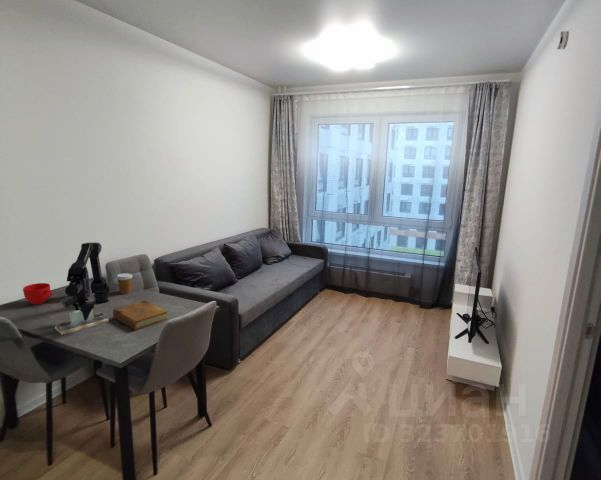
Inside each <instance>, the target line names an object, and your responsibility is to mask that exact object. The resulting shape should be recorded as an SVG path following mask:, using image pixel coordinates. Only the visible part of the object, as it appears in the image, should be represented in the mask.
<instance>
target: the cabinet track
mask: <svg viewBox="0 0 601 480" xmlns="http://www.w3.org/2000/svg"><path fill="white" fill-rule="evenodd" d="M93 316H94V318H92V319H88V320H85V321H81V322H78V323H74V324H70V319H69V320H66V321H63V322H60V323H59V322H58V323H56V324H55V326H54V329H55V330H56V331H57V332H58V333H59V334H61V336H63V334H64V335H67V334H71V333H73V332H76V331H81V330H84V329H87V328H91V327H93V326H97V325H101V324H103V323H107V322H109V318H108V315H107V314H106V313H104V312H103V311H99V312H96V313H93Z"/></svg>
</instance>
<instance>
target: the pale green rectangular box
mask: <svg viewBox="0 0 601 480" xmlns="http://www.w3.org/2000/svg"><path fill="white" fill-rule="evenodd" d="M93 314H94V308H93V309H92V310H91V312H90V314H89V316H88V319H92V318H94V316H93ZM88 319H87V320H88ZM69 320H70V324H74V323H78V322H81V321H85V320H84V318H83V314H82V312H81V311H79V310H77V311H75V310H74V311H70V312H69Z"/></svg>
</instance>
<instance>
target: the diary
mask: <svg viewBox="0 0 601 480" xmlns="http://www.w3.org/2000/svg"><path fill="white" fill-rule="evenodd" d="M167 313H168V310H166V309H165V308H162V307H160V306H157V305H156V304H155V303H154V304H153V303H151V302H149V301H148V300H141V301H138V302H135V303H134V302H133V303H132V304H128V305H127V304H126V305H124V306H119V307H116V308H114V309H113V310H112V317H113V318H114V319H115V320H117V321H119V322H120V323H122V324H124V325H125V326H127V327H128V328H130V329H132V330H134V331H135V332H136V331H139V330H142V329H144V328H147V327H151V326H153V325H157V324H159V323H162V322H165V321H167V320H169V319H168V318H167Z"/></svg>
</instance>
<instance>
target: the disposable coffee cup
mask: <svg viewBox="0 0 601 480" xmlns="http://www.w3.org/2000/svg"><path fill="white" fill-rule="evenodd" d="M133 277H134V276H133V274H132V273H130V272H123V273H119V274H117V275H116V280H117V284H118V288H119V289H118V290H119V293H120V294H122V295H124V294H130V293H131V291H132V282H133V281H132V280H133Z"/></svg>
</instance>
